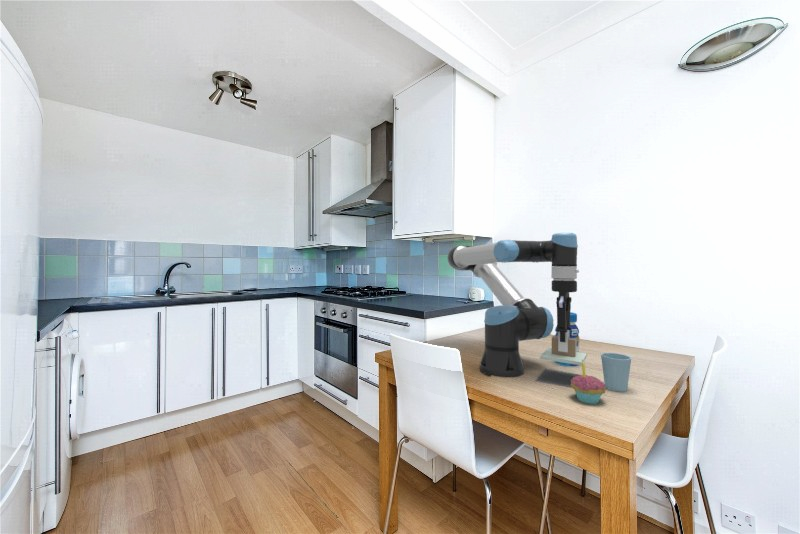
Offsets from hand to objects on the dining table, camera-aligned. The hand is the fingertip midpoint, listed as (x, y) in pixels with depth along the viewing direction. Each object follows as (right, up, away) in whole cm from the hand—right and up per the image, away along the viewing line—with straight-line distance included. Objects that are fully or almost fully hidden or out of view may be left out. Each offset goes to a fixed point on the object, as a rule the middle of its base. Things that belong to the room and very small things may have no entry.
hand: (563, 350), depth 106 cm
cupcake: (-2, -10, -17) cm, 20 cm away
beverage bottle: (+10, -10, +16) cm, 21 cm away
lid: (0, -2, 0) cm, 2 cm away
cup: (+11, -10, -9) cm, 18 cm away
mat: (0, -10, 0) cm, 10 cm away
